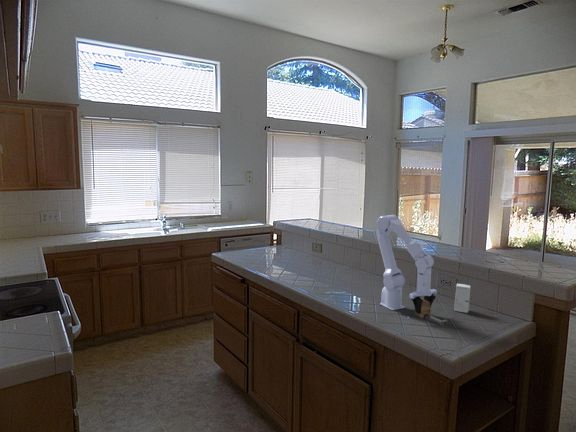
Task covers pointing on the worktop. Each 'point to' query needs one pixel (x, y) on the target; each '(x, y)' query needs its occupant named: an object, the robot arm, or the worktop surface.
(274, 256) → the worktop surface
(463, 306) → the skincare box
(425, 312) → the keeper
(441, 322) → the rail
